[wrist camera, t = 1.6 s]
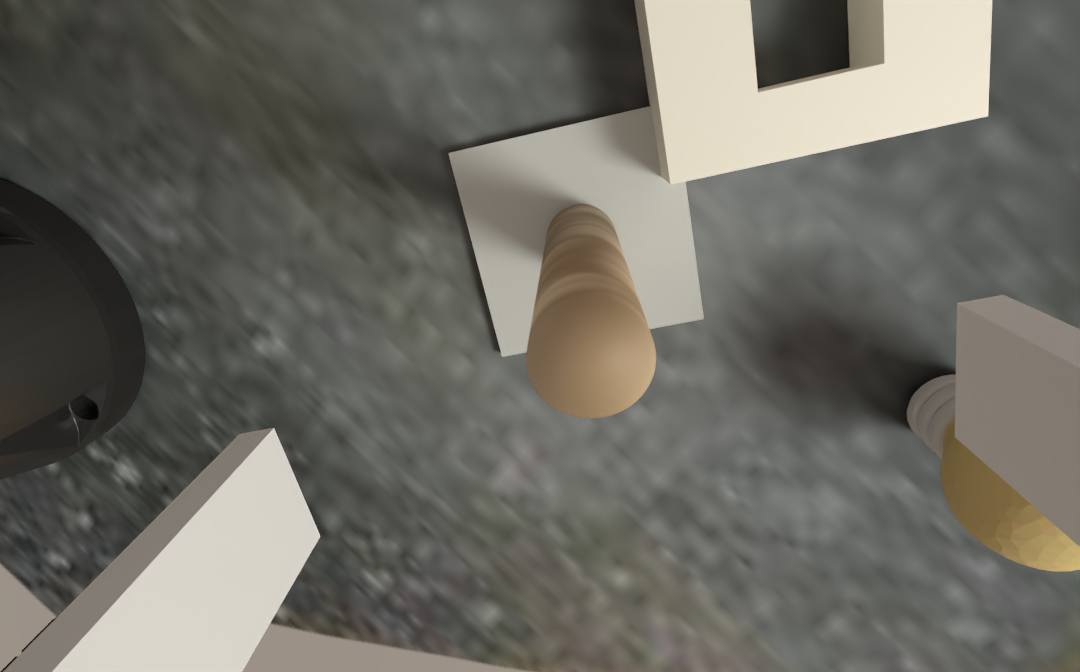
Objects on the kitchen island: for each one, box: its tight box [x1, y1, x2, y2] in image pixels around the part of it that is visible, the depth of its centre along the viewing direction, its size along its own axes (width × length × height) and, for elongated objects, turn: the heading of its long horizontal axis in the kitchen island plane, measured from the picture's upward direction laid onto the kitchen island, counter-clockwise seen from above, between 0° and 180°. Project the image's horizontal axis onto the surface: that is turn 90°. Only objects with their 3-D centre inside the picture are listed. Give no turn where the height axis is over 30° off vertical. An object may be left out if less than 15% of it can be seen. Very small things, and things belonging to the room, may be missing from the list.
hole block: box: [634, 0, 992, 185], centre depth 23 cm, size 12×10×3 cm
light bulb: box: [907, 374, 1080, 571], centre depth 26 cm, size 6×6×10 cm
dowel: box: [526, 204, 656, 418], centre depth 22 cm, size 3×3×14 cm
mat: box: [448, 106, 704, 357], centre depth 28 cm, size 10×10×1 cm
